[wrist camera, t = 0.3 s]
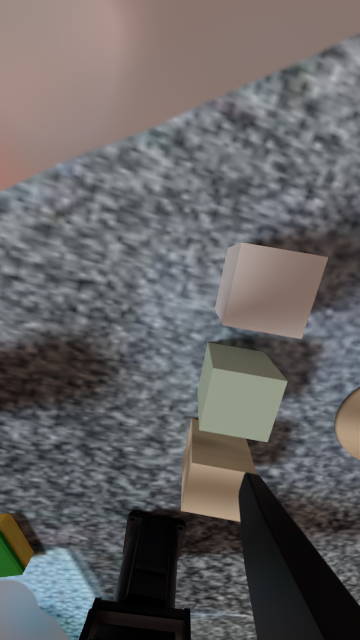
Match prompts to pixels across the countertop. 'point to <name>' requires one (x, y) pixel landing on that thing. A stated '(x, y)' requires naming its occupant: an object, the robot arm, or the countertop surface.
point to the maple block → (214, 473)
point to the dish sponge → (13, 548)
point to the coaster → (349, 424)
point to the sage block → (239, 392)
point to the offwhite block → (268, 289)
